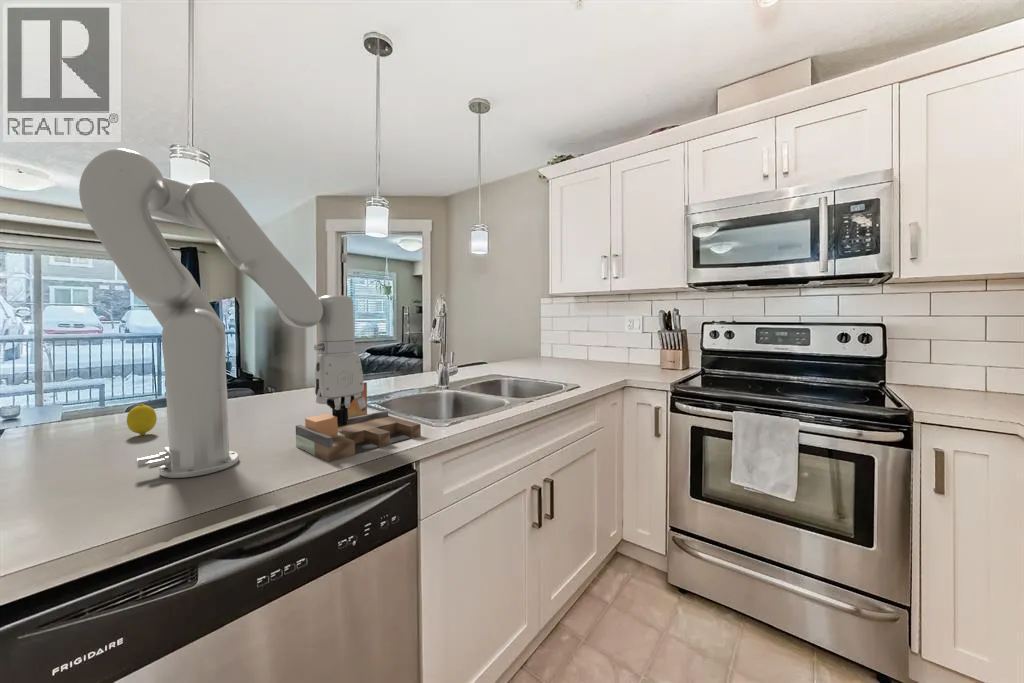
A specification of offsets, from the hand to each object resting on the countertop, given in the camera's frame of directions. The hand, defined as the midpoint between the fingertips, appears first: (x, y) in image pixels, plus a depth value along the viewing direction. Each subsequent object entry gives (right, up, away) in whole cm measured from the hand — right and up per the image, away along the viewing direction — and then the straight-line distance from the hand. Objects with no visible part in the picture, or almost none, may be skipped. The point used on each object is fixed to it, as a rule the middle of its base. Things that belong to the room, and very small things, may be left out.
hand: (340, 424), depth 96 cm
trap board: (+4, -4, +2) cm, 6 cm away
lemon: (-52, -4, +6) cm, 53 cm away
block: (-3, -2, -4) cm, 5 cm away
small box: (-7, -3, +25) cm, 26 cm away
